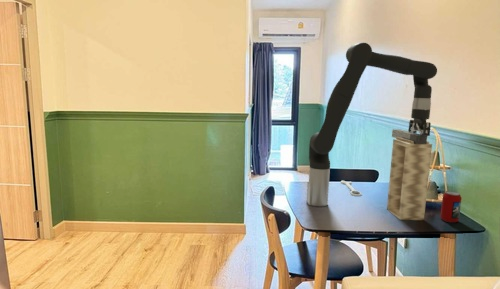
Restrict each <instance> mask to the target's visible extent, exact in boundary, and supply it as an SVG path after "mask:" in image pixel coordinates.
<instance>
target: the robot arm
mask: <svg viewBox="0 0 500 289" xmlns="http://www.w3.org/2000/svg"><path fill="white" fill-rule="evenodd" d="M345 53H346V54H345V58H346V61H347V62H348V64H347V66H346V69H345V71H344V73H343V74H342V76H341V77H340V78H339V79H338V82H336V84H335V86H334V88H332V89H333V90H332V92H331V93H330V97H329V99H328V101H327V106H326V110H325V115H324V121H323V124H322V126H321V127H320V130H319V132H318V131H317V132H314V133H313V134H312V135H311V137H310V139H309V146H308V147H309V148H308V149H309V151H308V161H309V162H308V163H309V170H308V172H309V173H308V181H307V185H306V186H307V187H306V203H307V204H308V206H313V207H326V206H328V204H329V188H330V174H331V172H330V170H331V161H330V156H329V155H330V152H331V151H332V150H333V148H334V145H335V142H336V139H337V135H338V133H339V129H340V126H341V124H342V122H343V120H344V118H345V115H346V114H347V112H348V110H349V107H350V105H351V102H352V100H353V98H354V95H355V94H356V93H355V92H356V91H357V89H358V88H357V87H358V85H359V82H360V80H361V78H362V75H363V73H364V72H365V70H366V68H367V67H372V68H378V69H382V70H385V71H389V72H393V73H396V74H400V75H405V76H412V77H413V78H412V79H413V85H414V92H413V100H412V105H411V115H410V117H411V119H410V120H409V122H408V123H409V124H408V130H407V131H409V132H413V133H417V134H422V135H426V136H427V137H429V136H430V134H431V122H427V120H429V119H430V118H431V117H430V116H431V108H432V91H433V89H432V86H431V85H430V84H429V80H431V79H433V78H434V77H435V76H436V75H437V73H438V67H437V66H436V64H434V63H431V62H428V61H423V60H422V61H421V60H415V59H411V58H407V57H404V56H400V55H399V56H398V55H392V54H385V53H378V52H376V51H375V52H374V51H373V49H372V46H371V45H370V44H369V43H368V42H357V43H355V44H353V45H351V46H350V47H348V48H347V51H346V52H345Z"/></svg>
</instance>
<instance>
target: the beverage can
mask: <svg viewBox="0 0 500 289" xmlns="http://www.w3.org/2000/svg"><path fill="white" fill-rule="evenodd" d="M441 200H442V201H441V206H440V208H441V209H440V219H441V220H443V221H444V222H447V223H456V222H459V220H460V214H461V206H462V196H461V193H460V192H458V191H455V190H454V191H452V190H445V191H444V193H443V194H442V199H441Z"/></svg>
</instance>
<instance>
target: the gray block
mask: <svg viewBox="0 0 500 289" xmlns="http://www.w3.org/2000/svg"><path fill="white" fill-rule="evenodd" d="M391 137H392V138H393V139H396V137H400V138H404V139H407V140H410V141H414V144H426V143H427V140H428V136H426V135H422V134H420V133H418V132H417V133H413V132H409V131H408V130H403V129H398V128H392V130H391Z"/></svg>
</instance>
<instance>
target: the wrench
mask: <svg viewBox="0 0 500 289" xmlns="http://www.w3.org/2000/svg"><path fill="white" fill-rule="evenodd" d="M340 184H342V185H345V187H347V188H348V189H349V191H350V192H349V195H351V196H354V197H361V196H362V192H361V191H359V190H356V189H355V188H354V187H353V186H352V181H345V180H341V181H340Z"/></svg>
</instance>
